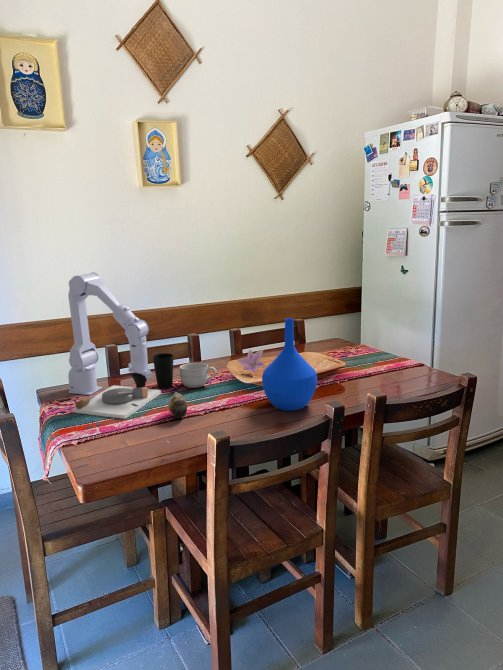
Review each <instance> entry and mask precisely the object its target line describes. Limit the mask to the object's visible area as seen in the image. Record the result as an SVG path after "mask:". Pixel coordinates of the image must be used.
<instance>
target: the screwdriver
mask: <svg viewBox="0 0 503 670" xmlns="http://www.w3.org/2000/svg"><path fill="white" fill-rule="evenodd" d="M95 396H96V394H95V395H92V396H91V397H83V398H82V399H80V400H78V401H76V403H75V404H74V405H75V406H74V407H76V408H77V409H80V408H82V407H84V406H85V405H87V404H89V400H91V399H92V398H94V397H95Z"/></svg>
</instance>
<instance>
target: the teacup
mask: <svg viewBox="0 0 503 670" xmlns="http://www.w3.org/2000/svg"><path fill="white" fill-rule="evenodd" d="M210 370H212V371H213V374H212V375H211V376H209V372H210ZM216 375H217V369H216V368H215V367H214V366H209V365H208V363H204V362H189V363H184V364H182V365H181V364H180V366H179V377H180V378H179V379H180V382H181V383H182V384H183V385H184V386H185V387H187V388H191V389H195V388H201V387H203V386H205V385H206V383H208V382H210V380H211V379H214V378H215V376H216Z"/></svg>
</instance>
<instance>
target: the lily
mask: <svg viewBox="0 0 503 670" xmlns="http://www.w3.org/2000/svg"><path fill="white" fill-rule="evenodd" d="M263 352H264V349H260V350H258V351H256V352H255V353H254V352H253V351H252V349H249V350H248V352H247V356H246V357H242V358H238V359H237V363H238V364H240V365H241V366H242V367H243V369H242V371H243V370H248V371H250V372H254V373H256V374H257V371H258V370H257V368H258V369H259V368H263V367H265V366H266V364H265V363H264V362H263V361H261V358H262V355H263Z"/></svg>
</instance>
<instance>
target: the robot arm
mask: <svg viewBox="0 0 503 670" xmlns="http://www.w3.org/2000/svg"><path fill="white" fill-rule="evenodd" d="M68 287H69V291H68V302H69V313H70V319H71V325H72V326H71V327H72V334H73V342H74V344H73V345H72V346H71V348H70V349H69V358H68V363H69V365H70V369H69V371H68V374H67V375H68V376H67V377H68V386H69V391H68V393H69V394H77V395H86V396H87V395H88V396H91V395H92V394H94V393H96V392H99V391H100V390H101V389H103V386H99V385H98V382H97V381H98V380H97V372H96V366H97V363H98V361H99V357H100V355H99V353H98V351H97V349H96V344H95V343H93V342H92V341H91V336H90V329H89V328H90V327H89V319H88V311H87V306H86V305H87V303H86V299H87V298H88V297H89V296H93V297H97V298H98V299H99V300H101V302H102V303H103V304H105V305H106V306H107V307H108V308H109V309H110V310H111V311H112V317H113V318H114V319H115V320H116V322H117V323H118V324H119V325H120V326H121V327H122V328H123V329H124V330H125V331H124V335H125V336H126V338H127V340H128V344H129V353H130V354H129V355H130V363H128V371H127V372H128V373H132V374H130V376H131V378H132V379H133V381H134V384H135V386H136V387H135V388H141V387H146V383H147V380H148V379H152V378H153V373H152V371H151V370H150V367H149V363H148V361H149V360H148V348H147V335H148V334H149V331H150V328H149V325H148V323H147V321H145V320H144V319H140V318H138V317H137V315H135V314H134V313H133V311H131V308H130V307H129V306H126V305H125V304H120V302H119V301H118V300H117V299H116V297H115V296H114V295H113V293H111V291H110V290H109V289H108V287H107V286H106V285H105V281H104V279H103V278H102V277H101V275H99V274H98V273H97V272H89V273H84V274H80V275H75V276H74V275H73V277H71V279H70V280H68Z"/></svg>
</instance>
